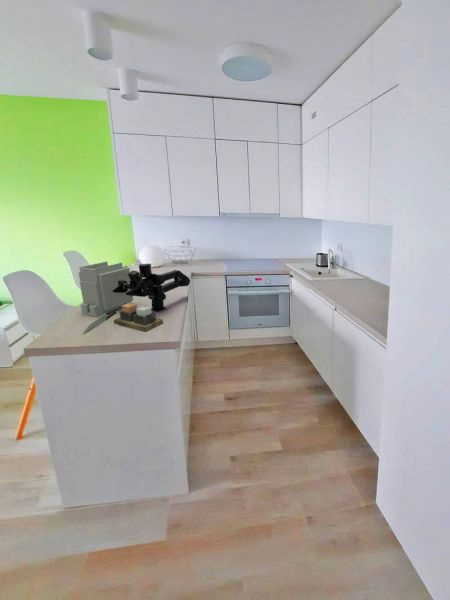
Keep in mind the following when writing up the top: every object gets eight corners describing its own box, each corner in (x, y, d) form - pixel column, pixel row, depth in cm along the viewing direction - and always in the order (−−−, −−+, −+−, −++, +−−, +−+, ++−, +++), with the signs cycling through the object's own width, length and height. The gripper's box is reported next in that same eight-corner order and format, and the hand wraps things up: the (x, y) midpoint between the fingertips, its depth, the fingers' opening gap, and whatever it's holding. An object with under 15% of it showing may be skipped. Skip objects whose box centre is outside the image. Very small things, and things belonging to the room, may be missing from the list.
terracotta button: (130, 310, 150) (129, 303, 148) (137, 311, 147) (136, 304, 146) (123, 313, 146) (122, 305, 144) (129, 314, 143) (128, 307, 142)
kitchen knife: (114, 307, 160) (79, 327, 132) (115, 307, 160) (81, 327, 132) (115, 314, 161) (80, 335, 133) (116, 315, 161) (82, 336, 133)
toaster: (78, 313, 162) (70, 268, 154) (114, 300, 185) (109, 260, 177) (100, 317, 155) (92, 270, 147) (135, 303, 177) (129, 261, 169)
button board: (132, 316, 156) (131, 305, 154) (162, 323, 145) (161, 312, 143) (114, 323, 146) (112, 312, 144) (145, 331, 135) (144, 319, 133)
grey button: (144, 313, 145) (143, 305, 144) (151, 314, 142) (150, 307, 141) (137, 316, 141) (136, 308, 139) (144, 318, 138) (143, 310, 137)
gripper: (128, 267, 154) (104, 274, 141) (154, 271, 145) (130, 279, 132) (131, 287, 158) (107, 295, 145) (156, 292, 149) (133, 301, 136)
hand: (119, 292), depth 140 cm, fingers open, 9 cm apart
